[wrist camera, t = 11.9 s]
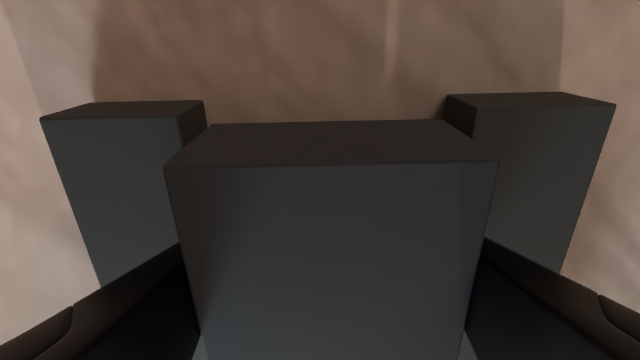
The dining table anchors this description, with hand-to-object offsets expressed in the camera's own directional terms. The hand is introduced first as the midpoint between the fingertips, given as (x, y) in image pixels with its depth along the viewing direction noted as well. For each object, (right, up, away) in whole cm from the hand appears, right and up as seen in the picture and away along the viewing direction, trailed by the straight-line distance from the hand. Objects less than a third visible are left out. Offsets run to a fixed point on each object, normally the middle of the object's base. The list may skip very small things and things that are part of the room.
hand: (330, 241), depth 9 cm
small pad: (0, 0, +1) cm, 1 cm away
